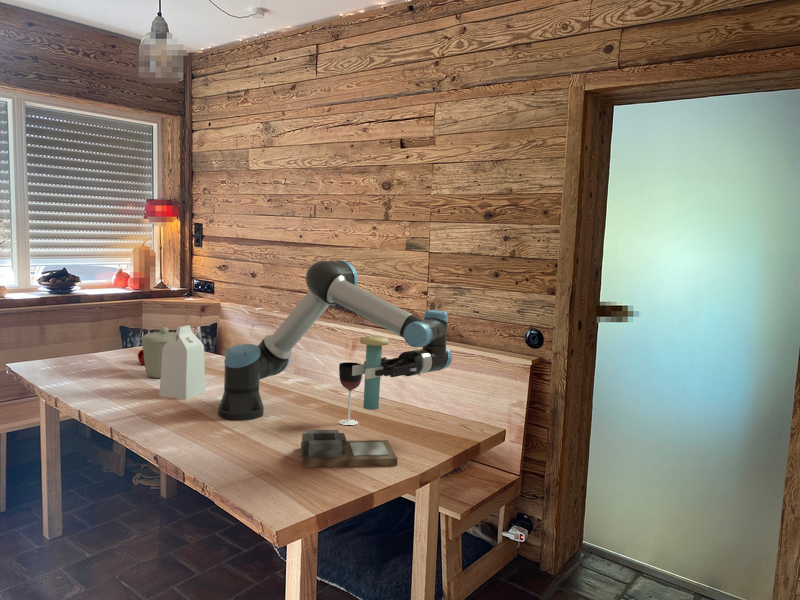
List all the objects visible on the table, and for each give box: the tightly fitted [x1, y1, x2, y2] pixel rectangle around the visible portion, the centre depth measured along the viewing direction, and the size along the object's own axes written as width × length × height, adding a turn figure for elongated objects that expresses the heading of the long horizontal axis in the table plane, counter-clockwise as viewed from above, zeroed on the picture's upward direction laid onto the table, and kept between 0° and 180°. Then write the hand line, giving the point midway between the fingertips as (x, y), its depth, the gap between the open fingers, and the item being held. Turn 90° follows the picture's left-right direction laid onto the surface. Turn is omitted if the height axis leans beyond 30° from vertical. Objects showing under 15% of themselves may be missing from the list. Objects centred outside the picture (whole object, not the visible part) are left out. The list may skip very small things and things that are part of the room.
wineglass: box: [338, 361, 363, 425], centre depth 198 cm, size 8×9×20 cm
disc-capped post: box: [359, 336, 389, 411], centre depth 166 cm, size 8×8×20 cm
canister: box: [140, 326, 176, 379], centre depth 247 cm, size 18×18×21 cm
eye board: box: [300, 429, 399, 469], centre depth 167 cm, size 26×15×6 cm, turn 102°
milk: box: [158, 324, 206, 401], centre depth 221 cm, size 12×12×26 cm
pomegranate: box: [137, 349, 145, 366], centre depth 267 cm, size 10×10×9 cm
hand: (359, 372), depth 162 cm, fingers closed on disc-capped post, 4 cm apart
